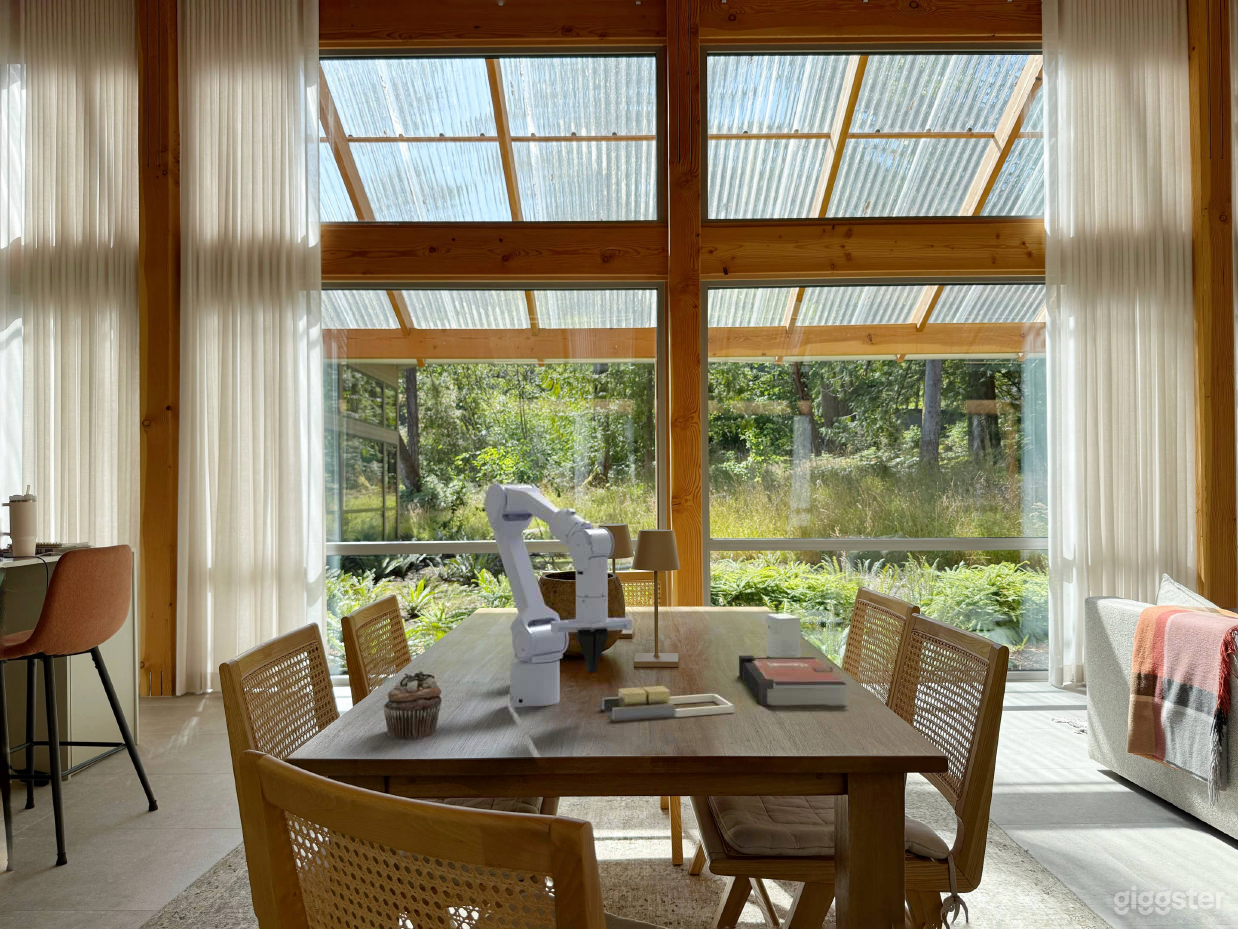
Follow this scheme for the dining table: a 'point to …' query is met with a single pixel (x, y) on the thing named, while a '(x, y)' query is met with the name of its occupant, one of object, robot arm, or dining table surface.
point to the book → (791, 682)
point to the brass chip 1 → (632, 697)
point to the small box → (783, 635)
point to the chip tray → (723, 708)
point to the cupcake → (413, 707)
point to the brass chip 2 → (657, 695)
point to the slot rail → (635, 710)
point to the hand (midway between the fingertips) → (591, 672)
